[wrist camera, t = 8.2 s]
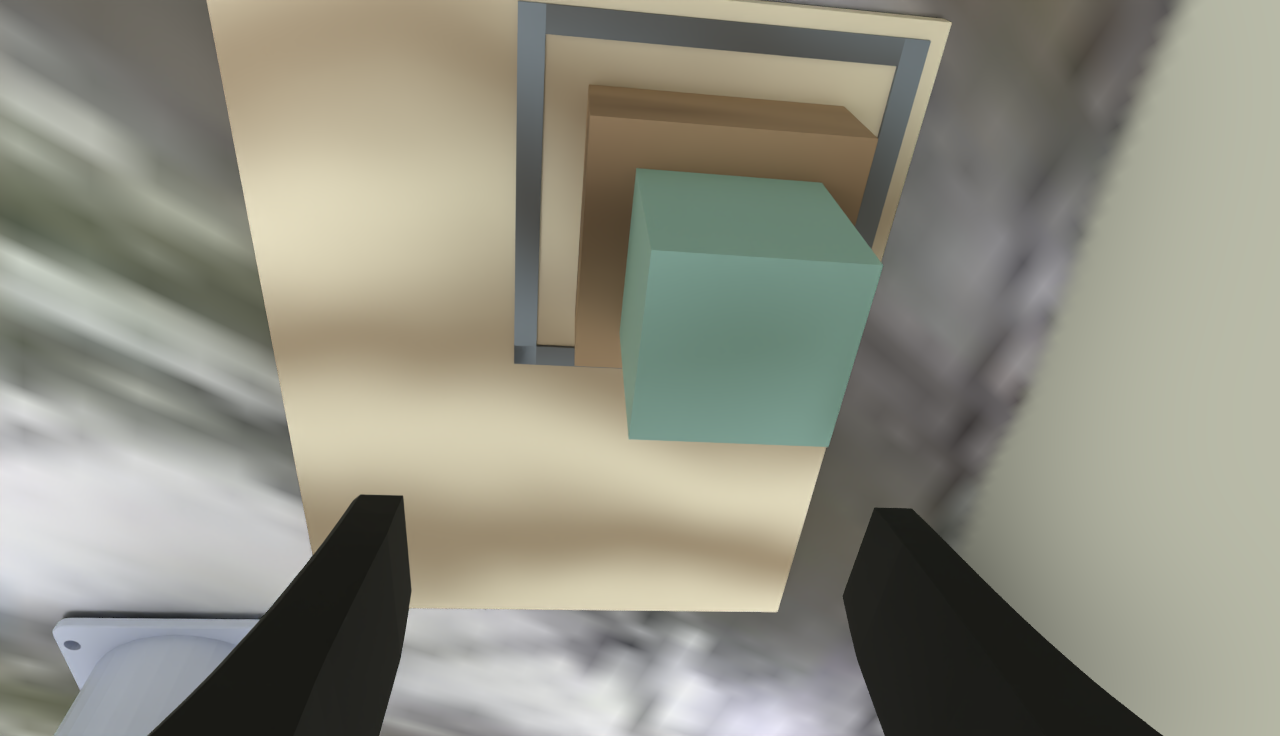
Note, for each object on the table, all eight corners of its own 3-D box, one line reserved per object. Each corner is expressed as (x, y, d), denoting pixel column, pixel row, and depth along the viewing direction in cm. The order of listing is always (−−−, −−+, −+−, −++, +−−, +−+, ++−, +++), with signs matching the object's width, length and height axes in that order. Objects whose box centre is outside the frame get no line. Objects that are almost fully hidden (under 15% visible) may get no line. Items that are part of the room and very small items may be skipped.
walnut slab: (791, 326, 21) (814, 376, 19) (574, 314, 21) (574, 366, 19) (843, 106, 18) (878, 138, 16) (588, 84, 17) (589, 115, 15)
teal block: (783, 341, 19) (828, 446, 15) (619, 332, 18) (628, 439, 15) (822, 182, 16) (883, 265, 13) (636, 168, 16) (651, 249, 13)
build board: (774, 601, 29) (778, 614, 28) (326, 595, 27) (321, 609, 26) (943, 18, 18) (954, 23, 17) (206, -55, 16) (195, -52, 15)
